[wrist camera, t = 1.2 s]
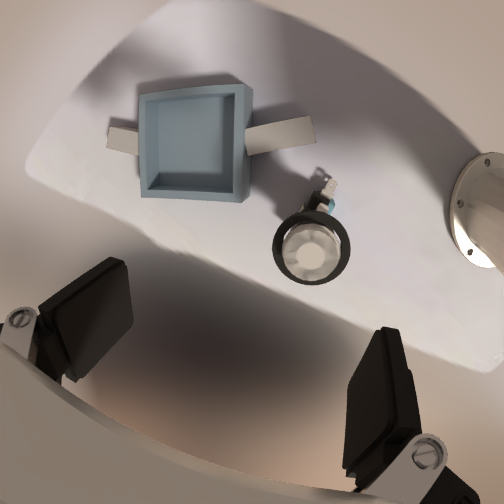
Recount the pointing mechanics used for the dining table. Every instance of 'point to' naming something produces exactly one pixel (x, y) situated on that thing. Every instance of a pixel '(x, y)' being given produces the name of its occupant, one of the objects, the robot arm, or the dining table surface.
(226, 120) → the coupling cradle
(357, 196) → the dining table surface
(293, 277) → the push button
